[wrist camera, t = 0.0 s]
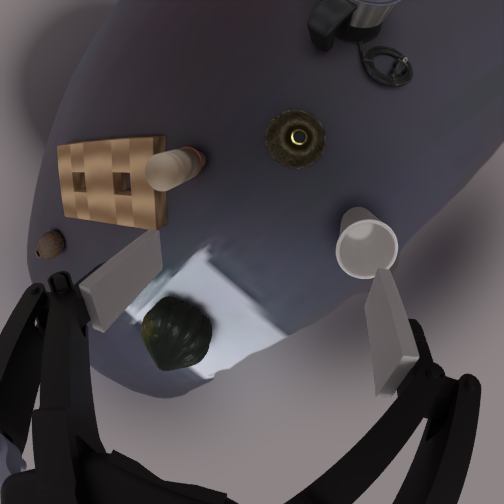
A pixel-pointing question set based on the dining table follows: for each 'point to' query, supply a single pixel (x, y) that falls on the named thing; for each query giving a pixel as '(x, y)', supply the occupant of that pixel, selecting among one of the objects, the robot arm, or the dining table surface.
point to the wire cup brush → (285, 145)
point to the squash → (176, 334)
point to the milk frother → (358, 33)
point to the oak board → (112, 181)
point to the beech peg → (173, 167)
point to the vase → (50, 245)
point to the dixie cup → (365, 244)
